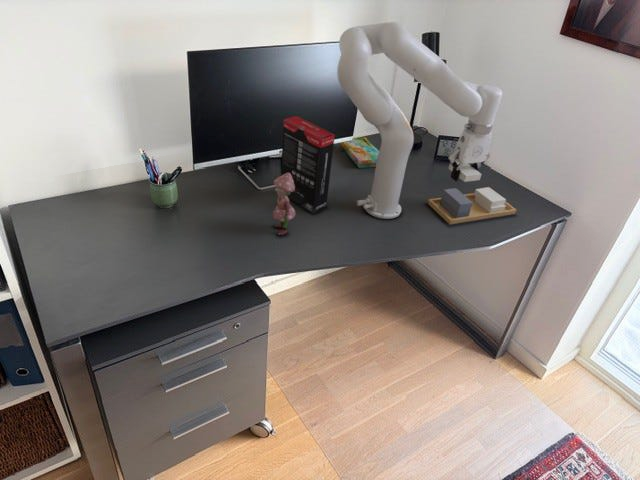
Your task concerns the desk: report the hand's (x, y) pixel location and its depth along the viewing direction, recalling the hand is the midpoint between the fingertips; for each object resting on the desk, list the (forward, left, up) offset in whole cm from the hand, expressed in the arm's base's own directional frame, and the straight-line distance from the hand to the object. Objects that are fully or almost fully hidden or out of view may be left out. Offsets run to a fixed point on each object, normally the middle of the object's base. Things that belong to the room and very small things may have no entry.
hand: (462, 177), depth 163 cm
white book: (+15, 0, -13) cm, 20 cm away
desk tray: (+8, 0, -14) cm, 16 cm away
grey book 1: (0, 0, -10) cm, 10 cm away
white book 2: (+15, 0, -11) cm, 18 cm away
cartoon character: (-60, +4, -14) cm, 62 cm away
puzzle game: (-13, +46, -14) cm, 50 cm away
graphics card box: (-48, +19, -14) cm, 54 cm away
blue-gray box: (0, 0, -13) cm, 13 cm away
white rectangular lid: (0, 0, +1) cm, 1 cm away
